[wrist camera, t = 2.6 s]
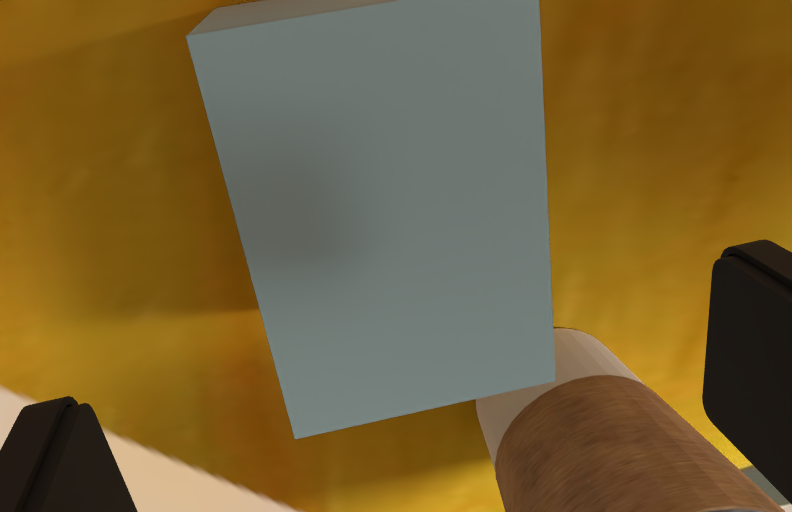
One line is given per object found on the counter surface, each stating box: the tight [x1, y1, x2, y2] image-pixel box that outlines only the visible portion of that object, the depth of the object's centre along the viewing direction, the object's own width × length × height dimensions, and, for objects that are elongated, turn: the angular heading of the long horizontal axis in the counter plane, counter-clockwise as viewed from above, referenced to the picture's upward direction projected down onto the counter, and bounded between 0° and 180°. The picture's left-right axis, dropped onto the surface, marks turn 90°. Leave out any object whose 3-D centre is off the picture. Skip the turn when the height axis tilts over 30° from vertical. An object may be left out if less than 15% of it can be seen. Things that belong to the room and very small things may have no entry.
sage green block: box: [186, 0, 556, 439], centre depth 18 cm, size 7×10×7 cm
